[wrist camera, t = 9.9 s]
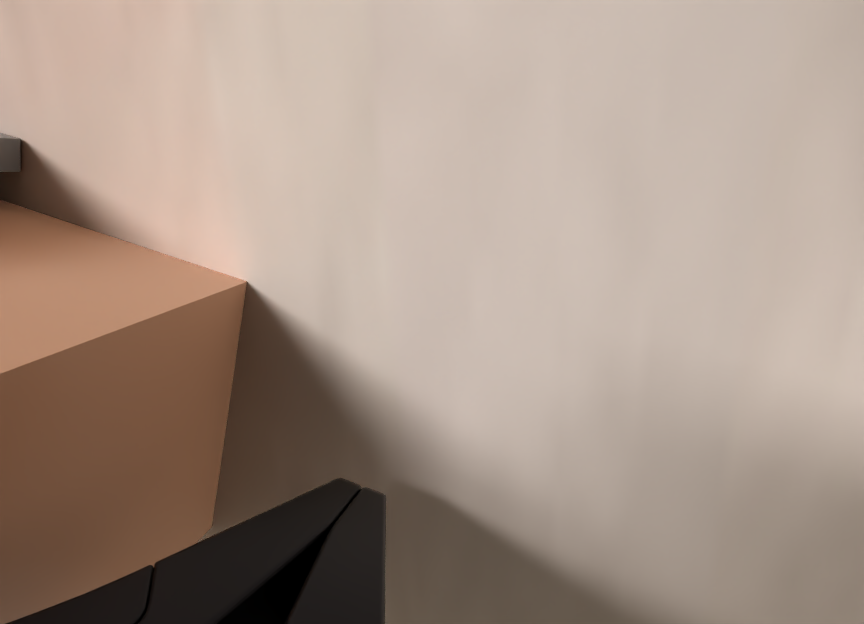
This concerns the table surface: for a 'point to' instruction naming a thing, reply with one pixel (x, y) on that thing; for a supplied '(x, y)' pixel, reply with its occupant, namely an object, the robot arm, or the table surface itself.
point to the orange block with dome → (105, 406)
